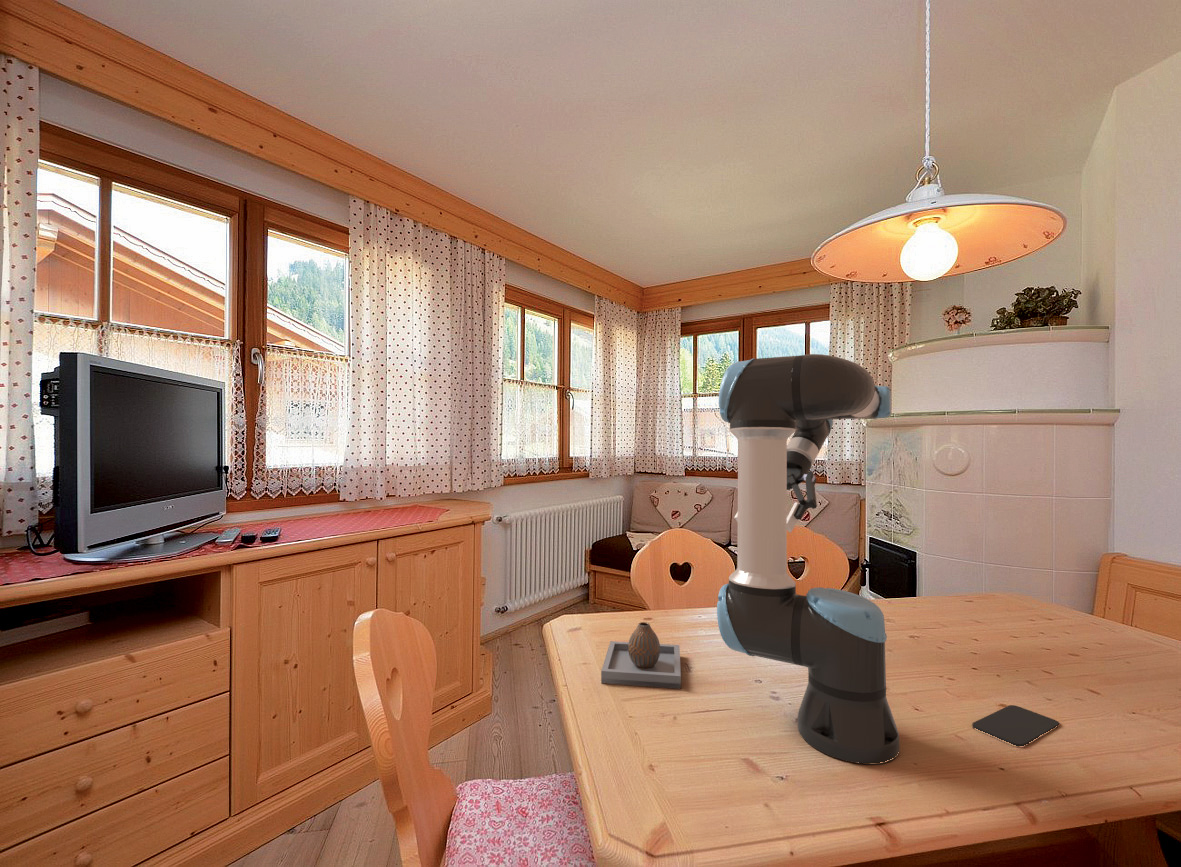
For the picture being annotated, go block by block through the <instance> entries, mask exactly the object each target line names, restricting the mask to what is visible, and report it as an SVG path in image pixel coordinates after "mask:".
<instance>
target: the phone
mask: <svg viewBox="0 0 1181 867" xmlns="http://www.w3.org/2000/svg"><path fill="white" fill-rule="evenodd" d="M1059 724H1060V722H1059V721H1058V720H1056V719H1054V718H1051V717H1049V716H1046V715H1044V714H1043V715H1042V714H1040V713H1038V712H1034V711H1032V710H1029V709H1027V708H1024V707H1021V706H1018V705H1012V704H1010V705H1007V706H1005V707H1003V708H1001V709H999V710H997V711H994V712H993V713H990V714H989V715H985V716H984V717H982V718H980V719H978V720H976V721H974V722H972V724H971V725H972V726H973V727H974V728H976V729H978V730H980V731H983V732H985V733H988V734H990V735H992V736H995V737H997V738H999V739H1001V740H1004V741H1006V742H1009V743H1011V744H1013V745H1016V746H1024V745H1026V744H1029V742H1031V741H1033V740H1034V739H1036V738H1038V737H1039V736H1040V735H1042V734H1044V733H1046V732H1048V731H1050V730H1051V729H1053V728H1055V727H1056V726H1058V725H1059ZM973 727H972V728H973ZM974 728H973V729H974ZM1029 745H1030V744H1029Z"/></svg>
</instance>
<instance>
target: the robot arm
mask: <svg viewBox="0 0 1181 867" xmlns="http://www.w3.org/2000/svg"><path fill="white" fill-rule="evenodd" d="M718 408H719V415H720V417H721V420H723V422H725V423H728V424H729V432H730V433H731V434H732V435H733V436H734V437H735V438H736V439H737V512H736V514H735V516H734V517H733V519H735V521H736V523H737V556H736V558H737V559H736V560H737V562H736V563H737V565H736V569H735V571H733V572H732V573H731V574H730V575H729V576H728V583H726V584H723V585H722V586H721V587H720V589H719V590H718V591H719V592H718V596H717V599H718V601H717V602H716V616H717V617H716V620H717V625H718V630H719V634H720V636H721V639H722V640H723V643H725V645H726V646H727V647H728V648H729V649H730V650H733V651H735V652H739V653H742V654H746V655H747V656H750V657H758V658H763V659H767V660H771V661H772V660H773V661H777V662H782V663H785V664H791V665H796V666H801V667H804V668H805V667H806V668H807V674H808V677H807V678H808V679H807V680H808V681H807V687H806V689H805V692H804V695H803V697H802V700H801V703H800V706H799V709H798V712H797V730H798V733H799V736H801V738H802V739H803V740H804V741H805V742H806V743H807V744H808V745H810V746H812V747H813V748H814V749H816V750H818V751H820V752H821V753H823V754H825V755H827V756H829V757H832V756H833V757H832V758H835V759H838V758H839V759H838V760H841V759H842V760H841V761H845V760H847V761H846V762H849V761H852V762H851V763H853V762H859V763H858V764H860V763H880V762H885V761H887V760H890V759H892V758H894V757H895V756H896V755H897V754H898V752H899V753H900V751H899V749H901V748H900V733H899V730H898V727H897V723H896V721H895V719H894V716H893V713H892V710H891V708H890V704H889V702H888V698H887V673H886V672H887V671H886V668H887V667H886V663H887V662H886V642H887V639H888V638H887V637H888V636H887V632H886V626H885V624H886V622H885V616H884V613H883V611H882V609H881V608H880V606H878V605H877V604H876V603H875V602H874V601H871V600H869V599H868V598H866V597H864V596H862V595H859V594H857V593H854V592H850V591H847V590H843V589H839V588H834V587H833V588H831V587H826V588H825V587H817V586H816V587H813V588H810V589H809V590H808V591H807V593H806V594H805V595H803V594H798V593H796V592H797V591H796V589H797V587H796V584H797V583H796V581H794V579H793V577H791V575H789V573H788V571H787V568H788V567H787V566H788V565H787V564H788V561H787V560H788V559H787V555H788V554H787V551H788V546H787V545H788V544H787V543H788V542H787V537H788V533H792V532H793V530H794V528H795V527H796V524H797V522H798V520H801V519H802V518H803V516H804V515H805V512H806V511H807V510H808V509H816V508H817V507H818V504H817V496H816V486H815V485H816V482H817V477H816V475H815V474H814V472H813V471H810V470H811V468H812V466H813V464H814V463H815V460H816V459H817V457H818V455H819V453H820V450H821V449H822V448H823V446H824V443H825V441H826V440H827V438H828V437H829V435H830V434H831V432H832V431H831V430H832V428H833V425H834V420H863V419H865V420H866V419H867V420H869V419H872V420H877V419H885V418H886V419H887V418H889V417H890V415H892V392H891V388H890V387H889V386H887V385H876V384H875V382H874V379H873V377H872V375H871V374H870V372H869V371H868V370H867V369H866V368H864V367H863V366H861V365H860V364H858V363H856V362H854V361H851V360H849V359H845V358H842V357H838V356H833V355H830V354H829V355H828V354H822V353H821V354H820V353H819V354H817V353H816V354H815V353H810V354H809V353H808V354H802V355H788V356H776V357H772V356H771V357H762V358H759V357H757V358H751V359H748V360H747V359H746V360H743V361H742V360H741V361H735V362H734V363H731V364H730V365H729V366H728V367H727V368H726V370H725V372H724V373H723V376H722V379H721V381H720V386H719V392H718ZM790 437H791V438H790ZM789 438H790V440H789ZM788 440H789V442H788ZM804 482H805V489H806V499H805V497H804V495H803V493H802V490H801V488H800V487H799V485H800V484H801V483H804ZM792 489H793V492H794V494H795V496H796V499H797V501H798V502H794V503H793V505H792V507H791V509H790V511H789V513H788V512H787V511H788V510H787V508H788V507H787V505H788V500H787V496H788V495H787V493H788V491H791V490H792ZM787 513H788V514H787ZM898 755H899V754H898Z"/></svg>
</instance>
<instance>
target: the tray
mask: <svg viewBox="0 0 1181 867" xmlns="http://www.w3.org/2000/svg"><path fill="white" fill-rule="evenodd" d="M628 644H629V641H616V640H614V641H612V640H610V642H609V645H608V648H607V650H606V651H607V652H606V654H605V657H604V661H603V664H602V667H601V672H600V675H601V680H600V681H601V682H600V683H601V684H604V683H607V684H608V685H617V686H618V685H621V686H632V687H633V686H635V687H636V686H637V687H650V688H663V689H664V688H666V689H667V688H668V689H675V690H676V689H678V690H679V689H680V690H681V688H682V686H681V684H682V682H681V681H682V679H681V678H682V675H681V674H682V672H681V653H680V652H681V651H680V650H681V649H680V647H681V646H680V644H670V643H669V644H668V643H667V644H666V643H665V644H664V643H660V656H659V659H658V661H657V662H656V664H655V665H654V666H653V667H651V668H639V667H637V666H636V665H635V664H634V663H633V662H632V661H631V659H630V656H629V652H628ZM607 684H606V685H607Z"/></svg>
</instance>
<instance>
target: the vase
mask: <svg viewBox="0 0 1181 867" xmlns="http://www.w3.org/2000/svg"><path fill="white" fill-rule="evenodd" d="M628 642H629V644H628V652H629V656H630V659H631V661H632V662H633V663H634V664H635V665H636V666H637V667H639V668H651V667H653V666H654V665H655V664H656V662H657V661H658V659H659V656H660V644H661V643H660V640H659V637H658V635H657V634H656V632H655V631H654V630H653V628H652V627H651V624H650V623H649V622H645V621H643V622H642V621H641V622H639V623H638V624H637V626H636V627H635V629H634V631H633V632H632V633H631V635H630V637H629V640H628Z"/></svg>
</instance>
